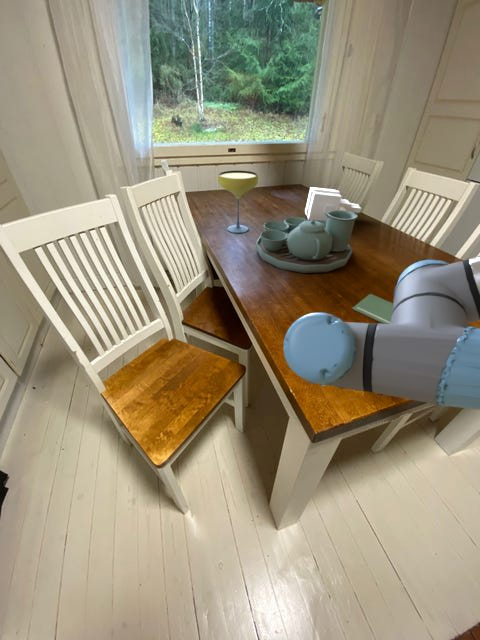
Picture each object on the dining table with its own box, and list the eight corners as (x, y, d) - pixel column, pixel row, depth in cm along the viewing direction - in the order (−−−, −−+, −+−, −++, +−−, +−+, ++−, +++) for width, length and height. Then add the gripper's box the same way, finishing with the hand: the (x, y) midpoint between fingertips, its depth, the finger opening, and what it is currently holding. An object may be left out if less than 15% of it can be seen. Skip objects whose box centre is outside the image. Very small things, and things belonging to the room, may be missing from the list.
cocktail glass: (246, 221, 147) (248, 169, 132) (261, 233, 134) (265, 176, 119) (215, 225, 142) (212, 171, 126) (227, 238, 129) (226, 180, 113)
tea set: (310, 229, 138) (316, 195, 128) (370, 262, 110) (384, 221, 100) (240, 242, 125) (240, 205, 115) (288, 284, 97) (294, 239, 87)
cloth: (426, 319, 82) (427, 317, 82) (411, 337, 75) (412, 336, 75) (369, 294, 92) (370, 293, 92) (351, 308, 86) (352, 307, 85)
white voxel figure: (360, 230, 144) (308, 224, 143) (348, 214, 163) (301, 209, 162) (371, 200, 134) (315, 194, 134) (356, 188, 154) (307, 182, 153)
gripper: (293, 359, 44) (327, 372, 64) (369, 411, 37) (382, 408, 57) (317, 320, 44) (345, 345, 63) (400, 365, 37) (402, 377, 56)
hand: (362, 374), depth 60 cm, fingers closed
